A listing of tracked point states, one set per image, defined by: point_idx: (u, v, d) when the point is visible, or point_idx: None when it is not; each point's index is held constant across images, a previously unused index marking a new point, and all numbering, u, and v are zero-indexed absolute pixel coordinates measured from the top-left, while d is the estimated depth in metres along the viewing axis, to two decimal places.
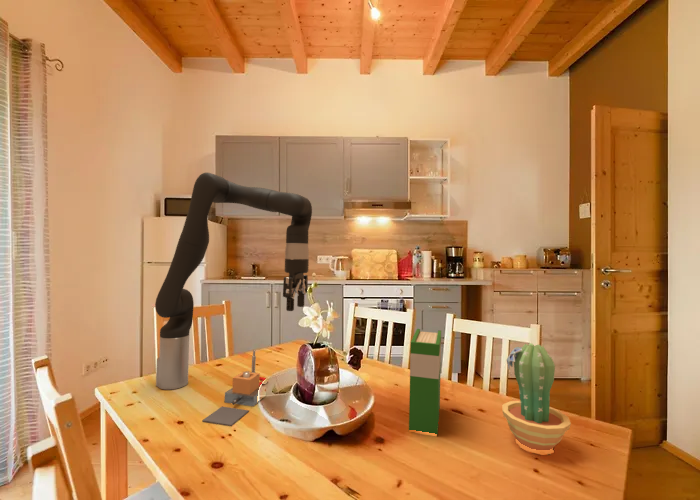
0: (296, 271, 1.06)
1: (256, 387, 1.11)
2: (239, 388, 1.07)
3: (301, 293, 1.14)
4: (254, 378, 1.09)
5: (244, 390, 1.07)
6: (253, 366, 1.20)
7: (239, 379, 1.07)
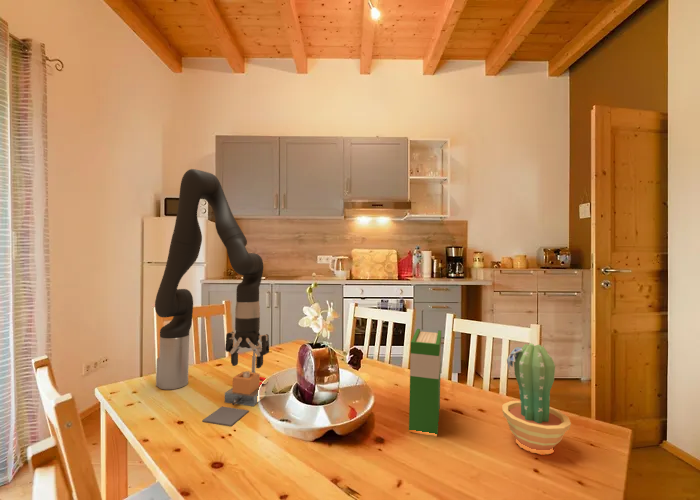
0: (259, 328, 1.11)
1: (256, 387, 1.11)
2: (239, 388, 1.07)
3: (235, 351, 1.11)
4: (254, 378, 1.09)
5: (244, 390, 1.07)
6: (253, 366, 1.20)
7: (239, 379, 1.07)
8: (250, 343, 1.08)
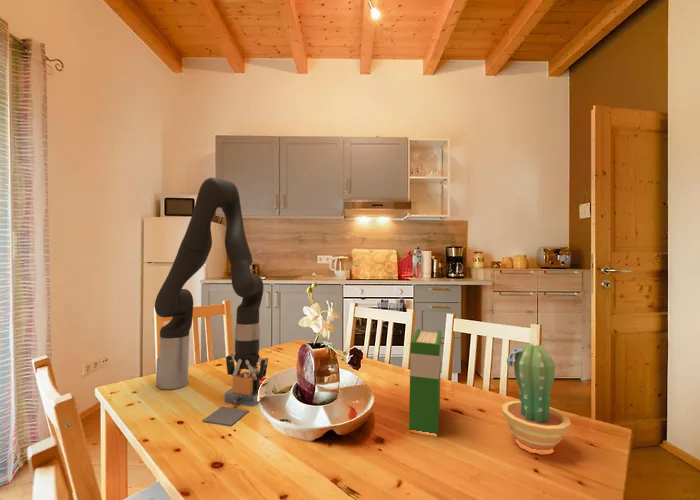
0: None
1: None
2: (239, 388, 1.07)
3: None
4: None
5: (244, 390, 1.07)
6: None
7: (239, 379, 1.07)
8: (249, 365, 1.08)
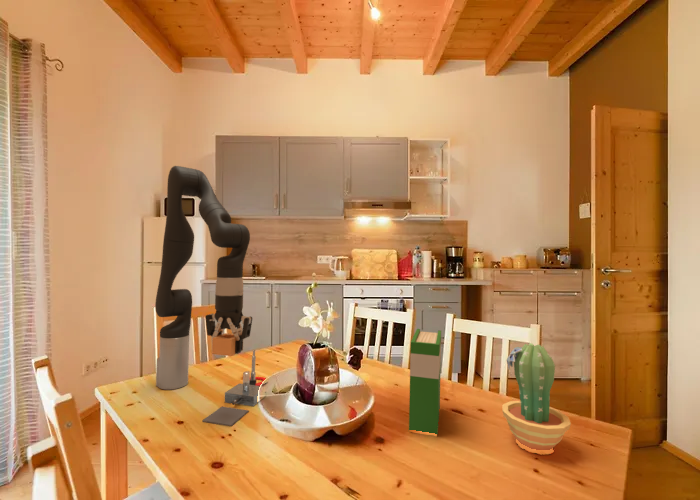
0: (242, 307, 0.99)
1: None
2: (219, 349, 0.96)
3: None
4: None
5: (225, 351, 0.95)
6: (253, 366, 1.20)
7: (219, 339, 0.96)
8: (231, 324, 0.96)
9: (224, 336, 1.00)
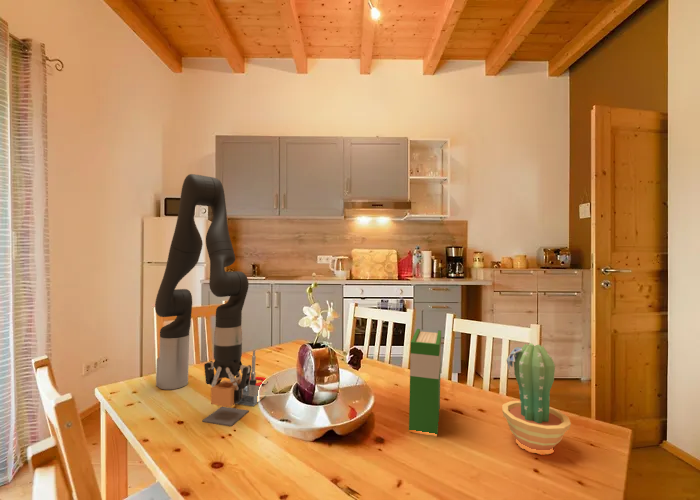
0: (241, 355, 0.99)
1: None
2: (218, 399, 0.95)
3: (217, 383, 0.99)
4: None
5: (224, 402, 0.95)
6: (253, 366, 1.20)
7: (218, 389, 0.95)
8: (230, 374, 0.96)
9: (223, 384, 0.99)
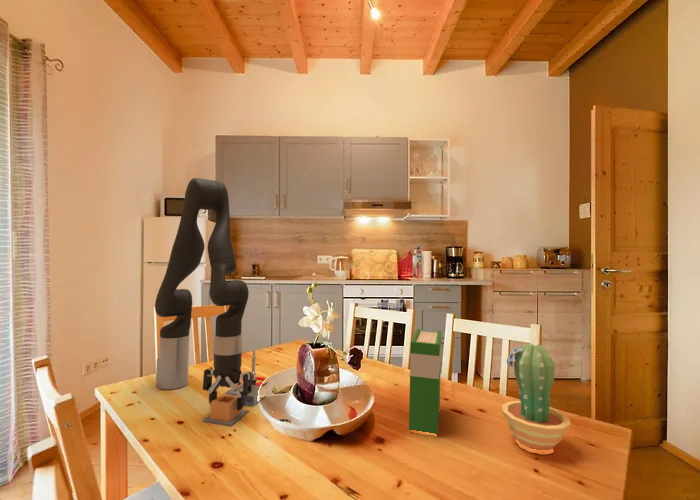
0: None
1: (237, 412, 0.99)
2: (217, 414, 0.95)
3: (214, 389, 0.99)
4: (235, 402, 0.97)
5: (223, 416, 0.95)
6: (253, 366, 1.20)
7: (218, 404, 0.96)
8: (230, 382, 0.96)
9: (222, 398, 0.99)
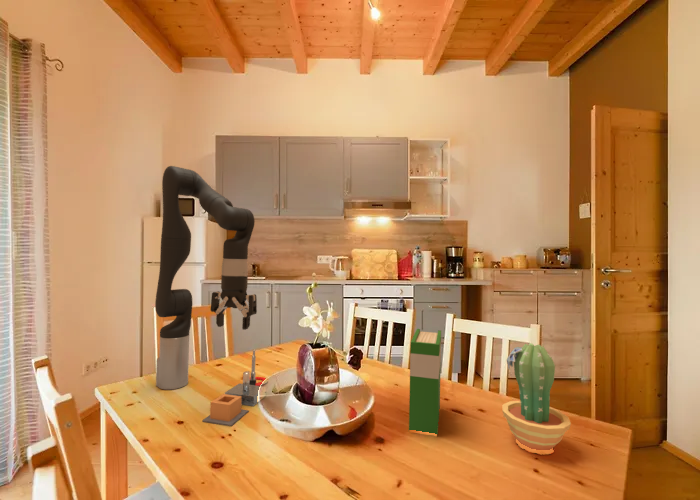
0: None
1: (237, 412, 0.99)
2: (217, 414, 0.95)
3: (221, 311, 1.05)
4: (235, 402, 0.97)
5: (223, 416, 0.95)
6: (253, 366, 1.20)
7: (218, 404, 0.96)
8: (237, 302, 1.01)
9: (222, 398, 0.99)
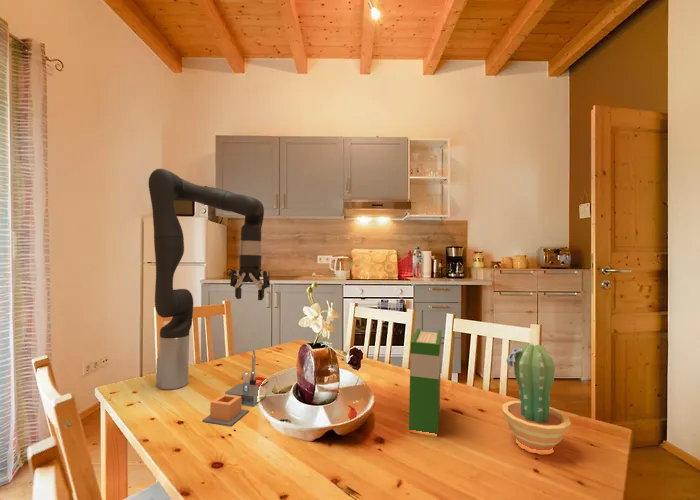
0: None
1: (237, 412, 0.99)
2: (217, 414, 0.95)
3: (239, 286, 1.24)
4: (235, 402, 0.97)
5: (223, 416, 0.95)
6: (253, 366, 1.20)
7: (218, 404, 0.96)
8: (253, 277, 1.20)
9: (222, 398, 0.99)
